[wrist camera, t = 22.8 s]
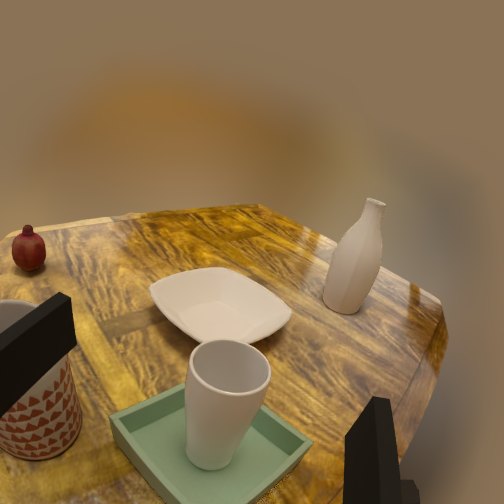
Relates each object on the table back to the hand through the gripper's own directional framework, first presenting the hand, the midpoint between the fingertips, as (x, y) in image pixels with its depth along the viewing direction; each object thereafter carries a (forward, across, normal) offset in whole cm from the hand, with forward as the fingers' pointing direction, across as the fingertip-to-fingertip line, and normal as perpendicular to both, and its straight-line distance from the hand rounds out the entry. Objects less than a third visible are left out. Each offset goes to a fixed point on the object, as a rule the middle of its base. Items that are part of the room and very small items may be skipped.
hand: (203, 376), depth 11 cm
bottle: (+57, +16, -24) cm, 64 cm away
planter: (+3, -21, -24) cm, 32 cm away
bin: (+10, 0, -24) cm, 26 cm away
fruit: (+29, -48, -24) cm, 61 cm away
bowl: (+36, -7, -24) cm, 44 cm away
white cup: (+10, 0, -23) cm, 25 cm away
